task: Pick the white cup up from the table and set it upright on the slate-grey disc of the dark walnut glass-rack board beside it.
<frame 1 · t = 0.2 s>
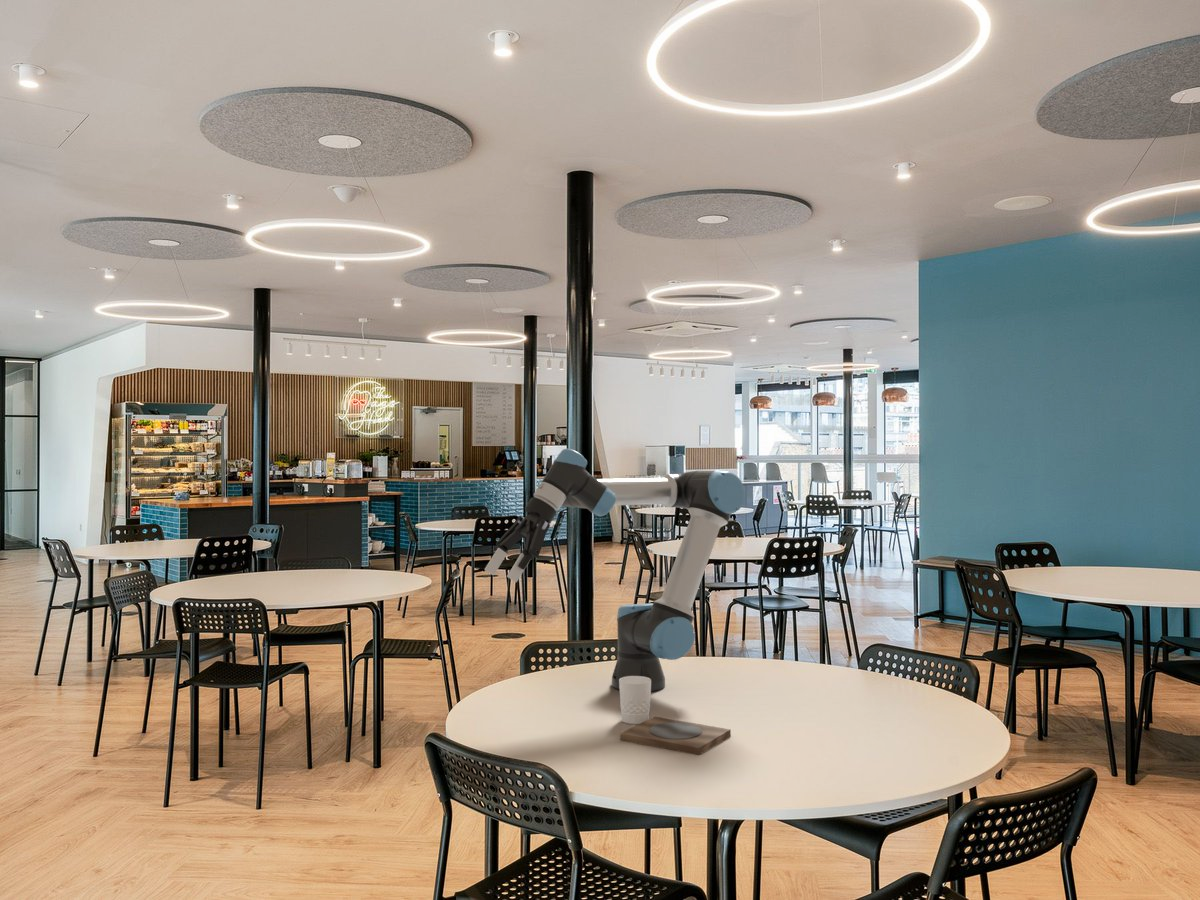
hand: (499, 576, 219), 35 cm above the table, tool tilted 35°, fingers open, 13 cm apart
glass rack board: (675, 737, 205), on the table
white cup: (635, 721, 219), on the table
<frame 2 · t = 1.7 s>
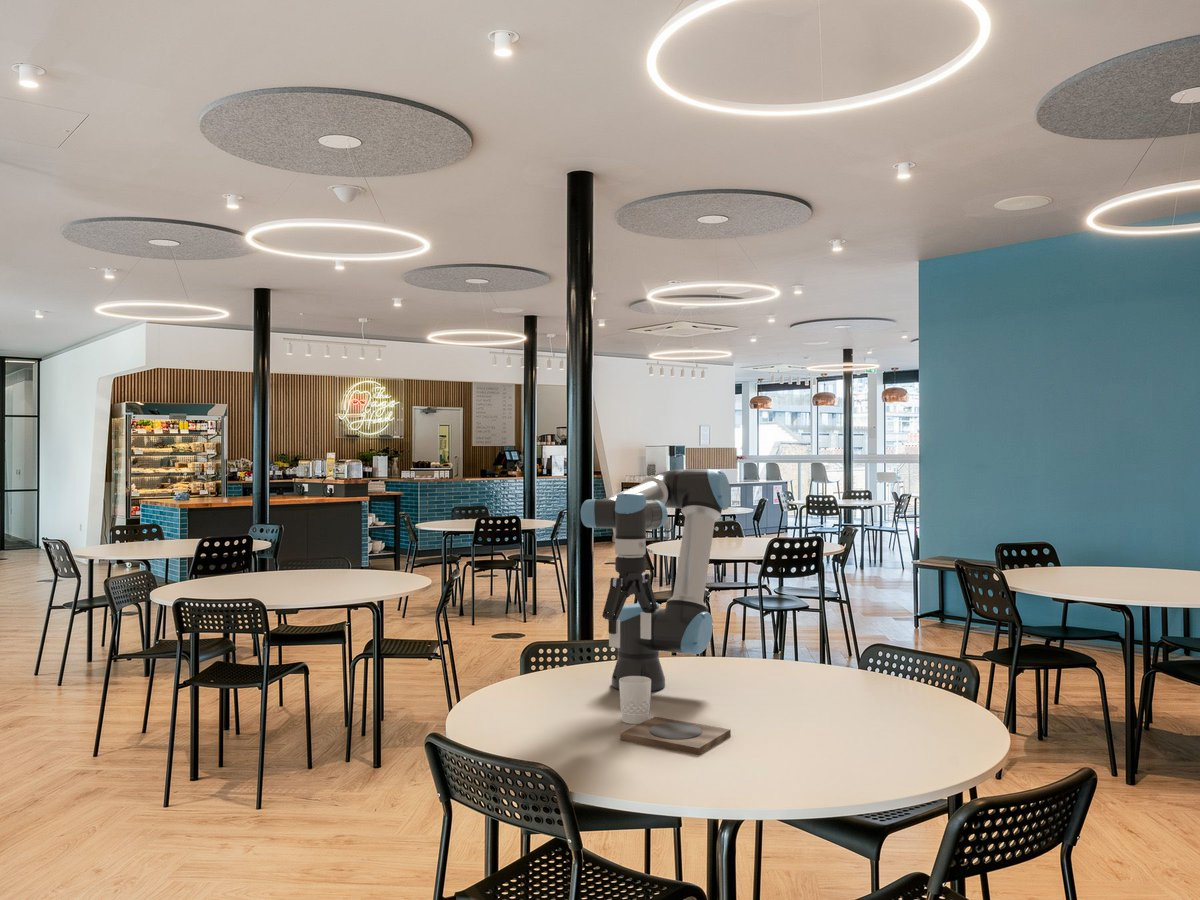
hand: (630, 643, 219), 19 cm above the table, tool pointing down, fingers open, 13 cm apart
nothing on the table moved.
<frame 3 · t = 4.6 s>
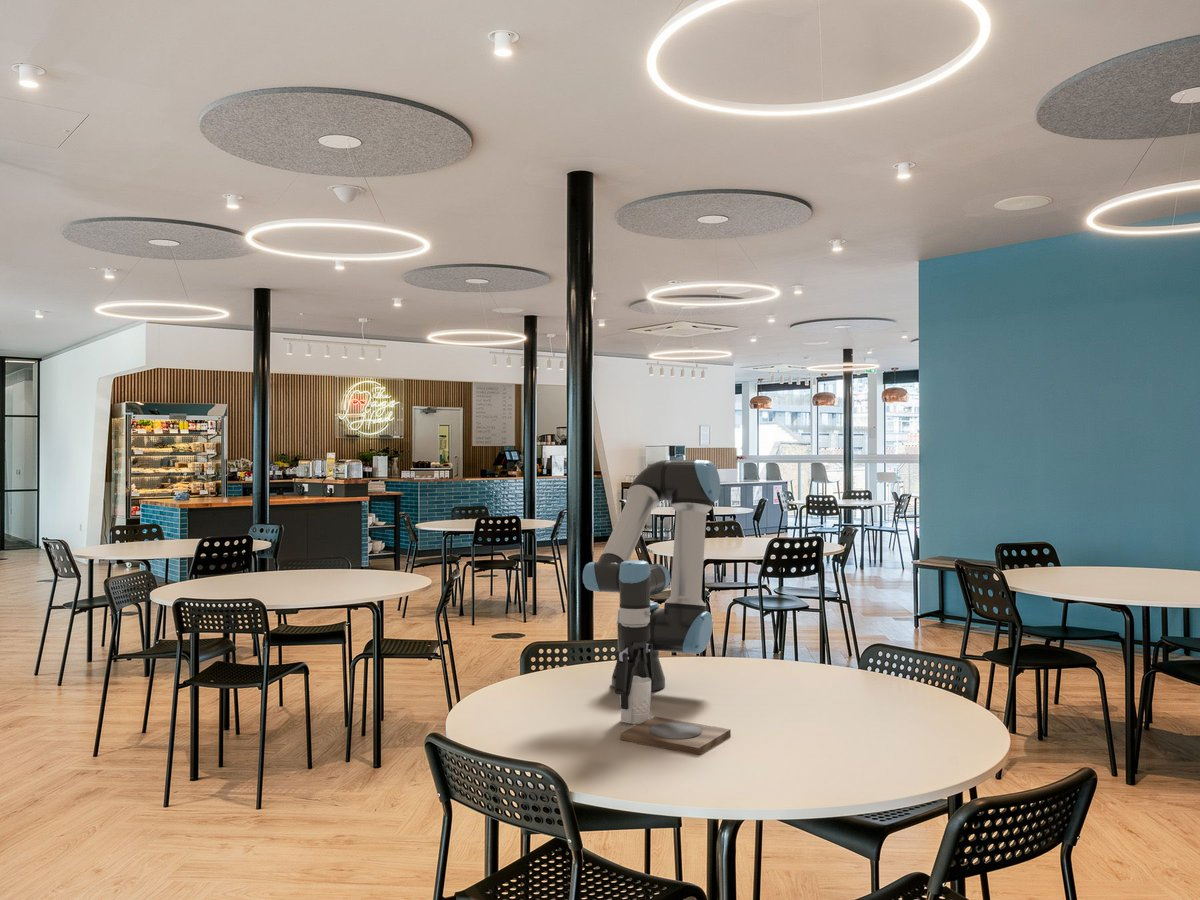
hand: (635, 717, 219), 1 cm above the table, tool pointing down, fingers closed on white cup, 8 cm apart
white cup: (635, 721, 219), on the table, touching gripper
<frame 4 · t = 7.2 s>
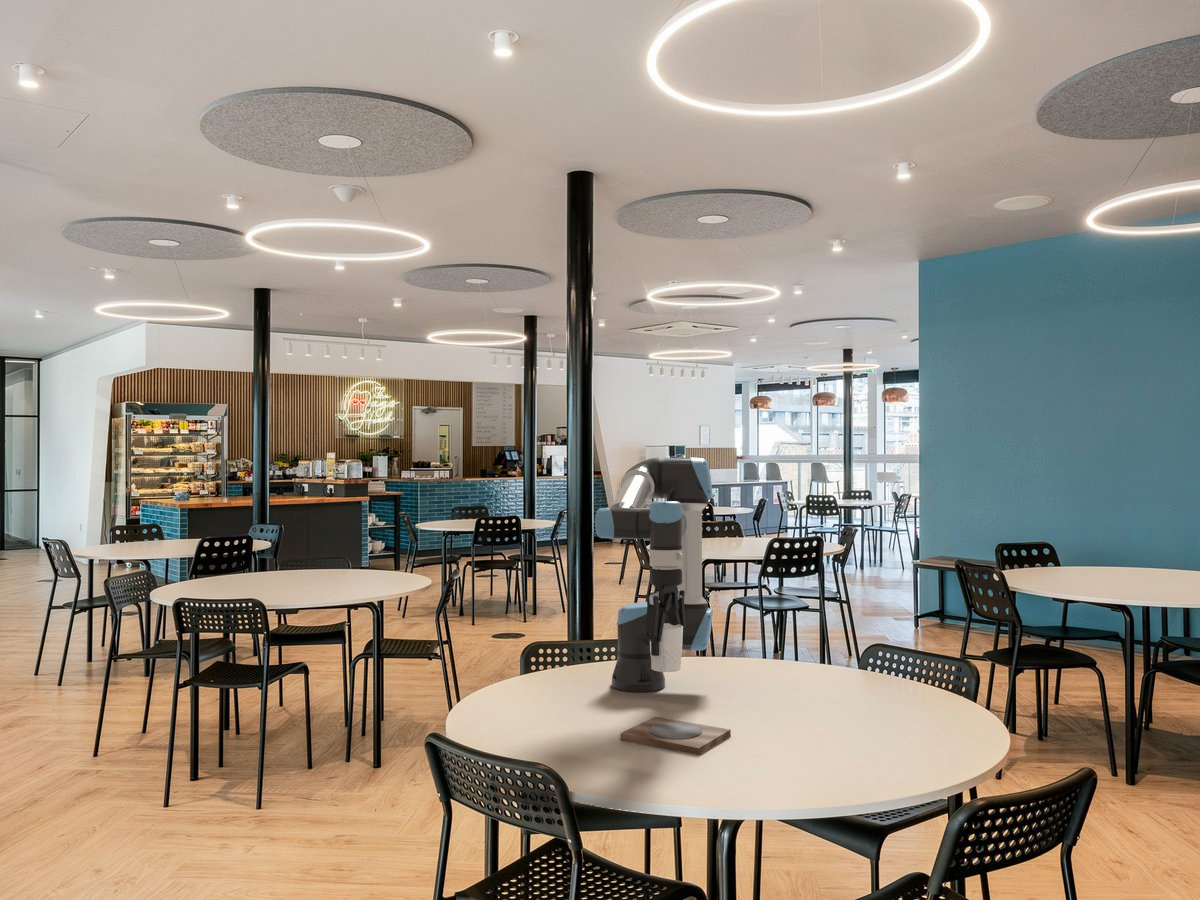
hand: (666, 666, 207), 16 cm above the table, tool pointing down, fingers closed on white cup, 8 cm apart
white cup: (666, 670, 207), point 15 cm above the table, touching gripper
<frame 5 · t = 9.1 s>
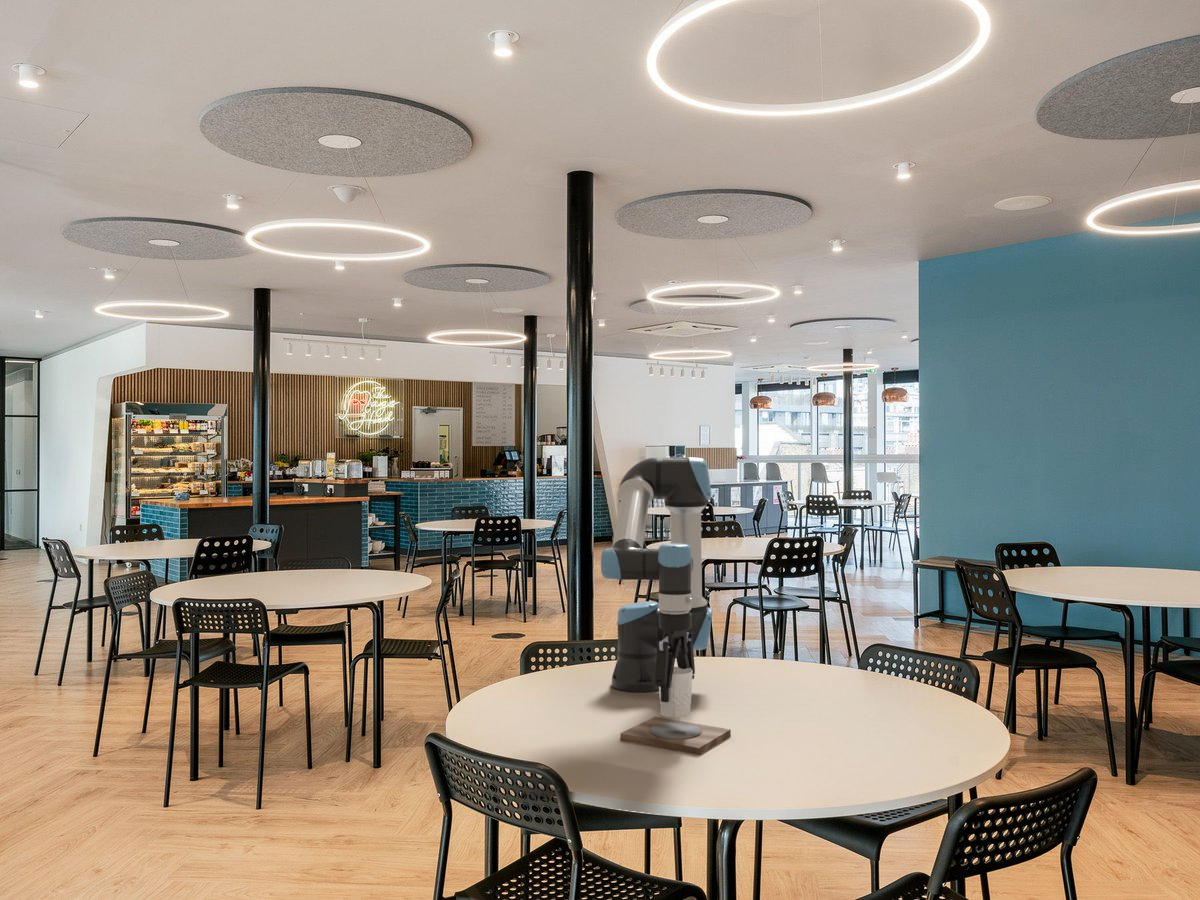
hand: (675, 711, 205), 6 cm above the table, tool pointing down, fingers closed on white cup, 8 cm apart
white cup: (675, 715, 205), point 5 cm above the table, touching gripper
when the fingers open (4 cm above the table, at t = 10.3 s): white cup drops 2 cm, resting on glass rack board.
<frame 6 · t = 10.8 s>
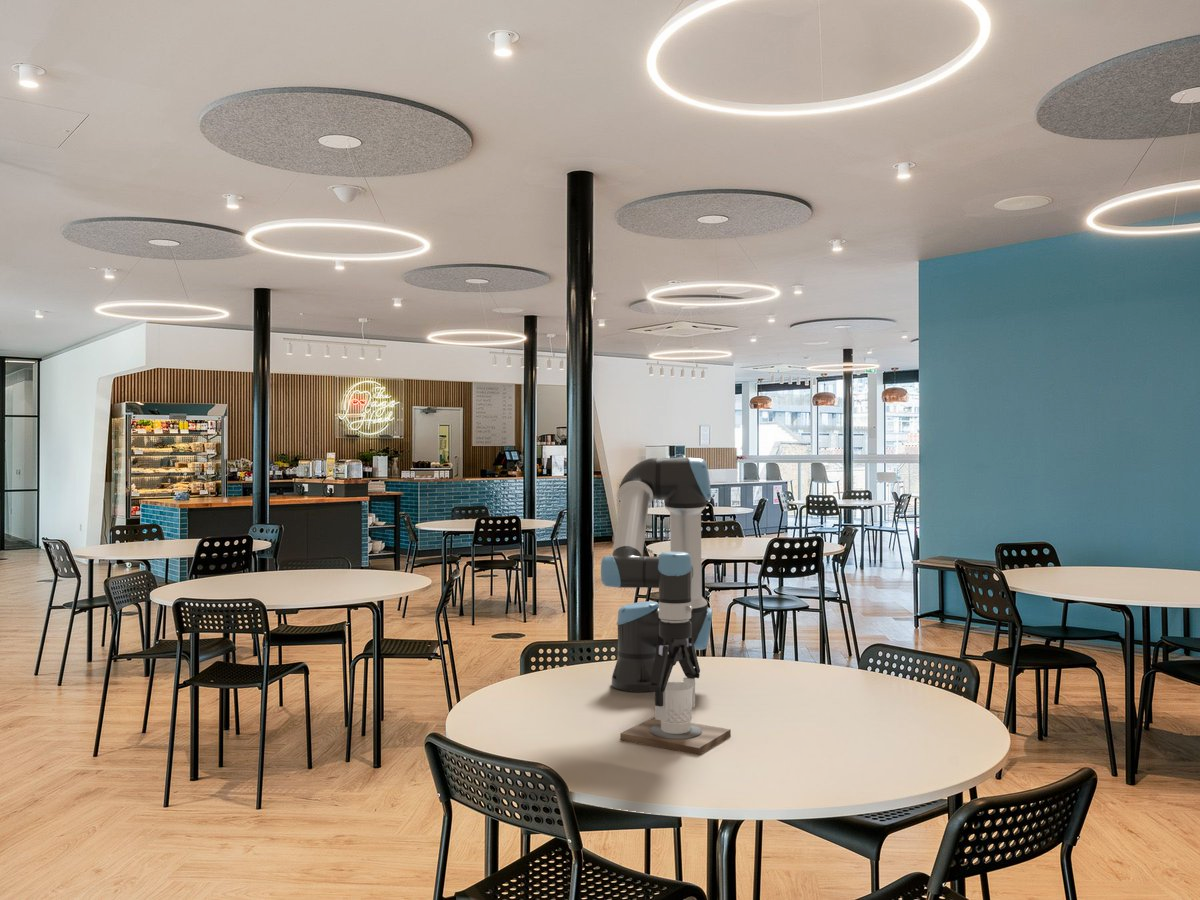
hand: (675, 713, 205), 6 cm above the table, tool pointing down, fingers open, 13 cm apart
white cup: (675, 730, 205), point 2 cm above the table, touching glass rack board
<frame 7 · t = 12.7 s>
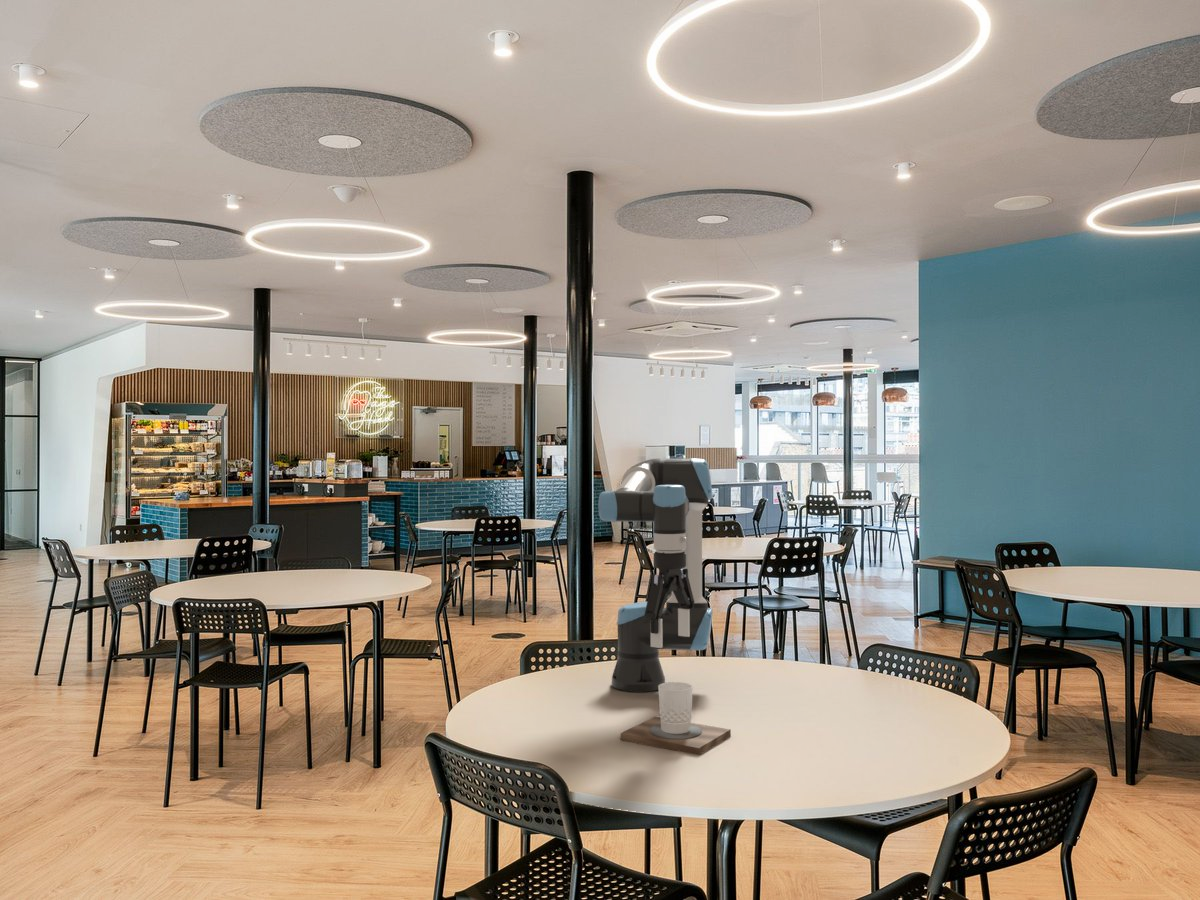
hand: (670, 641, 209), 21 cm above the table, tool pointing down, fingers open, 13 cm apart
nothing on the table moved.
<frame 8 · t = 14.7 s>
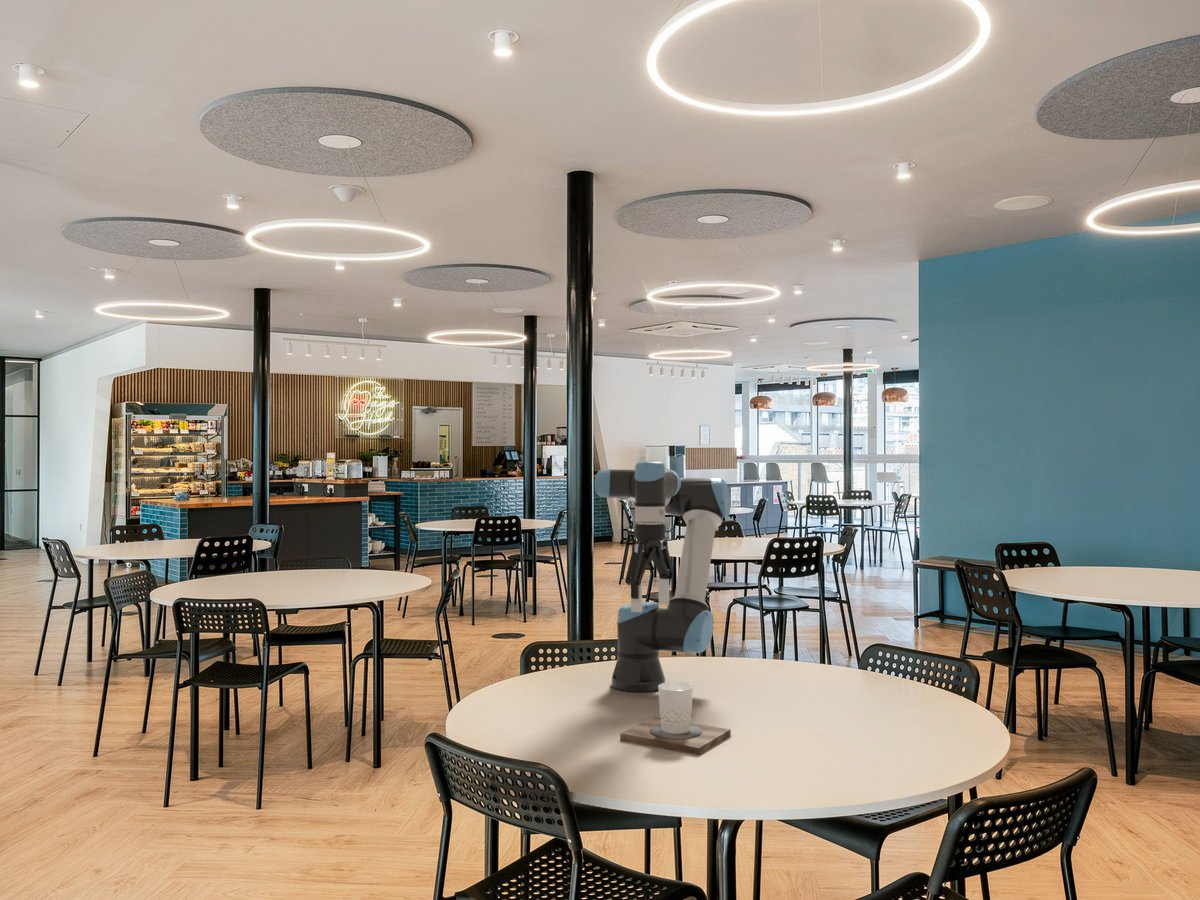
hand: (650, 608, 224), 27 cm above the table, tool pointing down, fingers open, 13 cm apart
nothing on the table moved.
at the end: white cup inside the target area on the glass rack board (0.0 cm from its centre), point 1.6 cm above the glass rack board's base; white cup tilted 0°; the gripper is holding nothing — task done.
